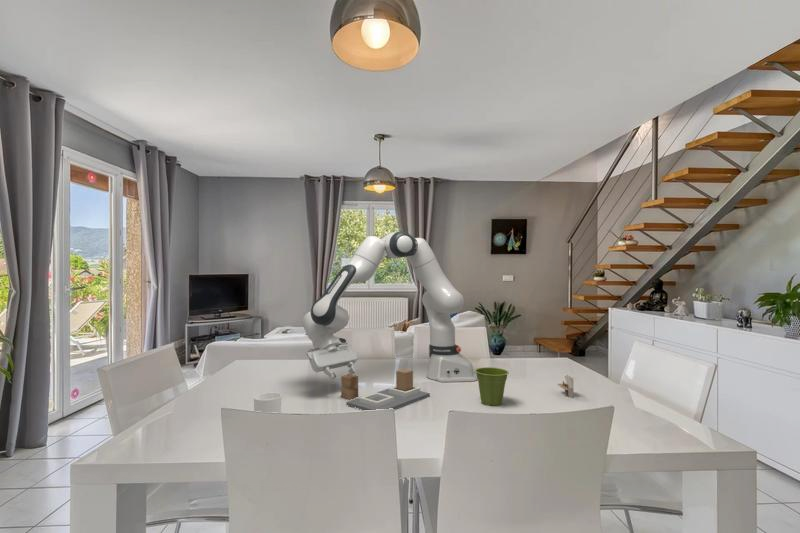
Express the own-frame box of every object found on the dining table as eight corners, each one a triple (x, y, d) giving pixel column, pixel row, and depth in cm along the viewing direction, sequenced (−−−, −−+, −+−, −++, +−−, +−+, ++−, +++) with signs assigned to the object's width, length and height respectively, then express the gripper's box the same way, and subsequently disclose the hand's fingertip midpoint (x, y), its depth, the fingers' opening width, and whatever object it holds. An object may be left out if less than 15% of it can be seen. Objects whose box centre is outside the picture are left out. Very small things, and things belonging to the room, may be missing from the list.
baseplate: (397, 388, 166) (397, 365, 166) (429, 396, 156) (429, 371, 156) (346, 405, 146) (346, 378, 146) (379, 415, 135) (379, 387, 135)
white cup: (273, 436, 119) (273, 400, 119) (248, 434, 120) (248, 399, 120) (286, 426, 126) (286, 392, 127) (262, 424, 128) (262, 391, 128)
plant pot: (502, 410, 140) (502, 376, 140) (469, 404, 146) (469, 372, 146) (513, 401, 150) (513, 369, 150) (482, 396, 156) (481, 365, 156)
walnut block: (350, 395, 158) (350, 373, 158) (358, 397, 155) (358, 375, 155) (341, 397, 155) (341, 376, 155) (349, 400, 152) (349, 378, 152)
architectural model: (564, 399, 153) (564, 378, 153) (557, 393, 160) (557, 374, 160) (573, 398, 153) (573, 378, 153) (566, 393, 160) (565, 373, 160)
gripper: (308, 345, 155) (325, 376, 148) (349, 338, 170) (366, 366, 163) (301, 355, 157) (317, 386, 151) (342, 348, 173) (359, 375, 166)
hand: (343, 375), depth 157 cm, fingers open, 8 cm apart
